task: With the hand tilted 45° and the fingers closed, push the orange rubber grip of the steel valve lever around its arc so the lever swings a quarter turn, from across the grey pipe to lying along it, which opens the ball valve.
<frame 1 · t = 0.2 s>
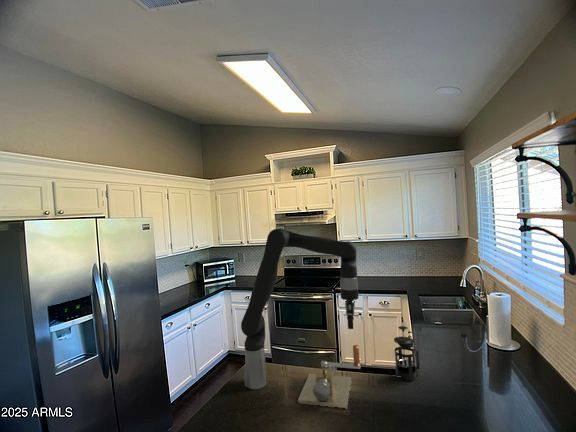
hand: (350, 325, 131), 29 cm above the countertop, tool pointing down, fingers open, 8 cm apart
valve: (325, 393, 132), on the countertop
valve lever: (339, 356, 130), point 16 cm above the countertop, hinge at 0.0°
french press: (407, 376, 142), on the countertop
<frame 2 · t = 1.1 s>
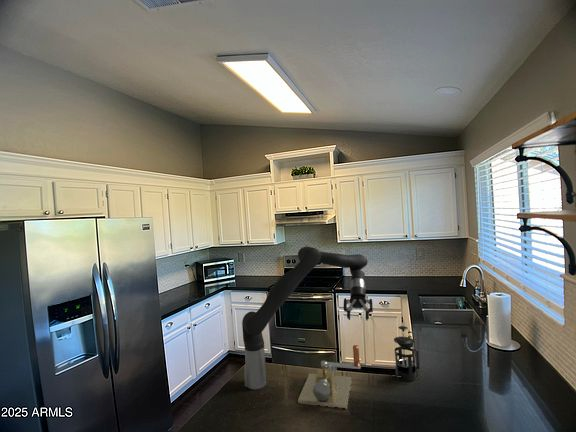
hand: (357, 319, 145), 27 cm above the countertop, tool tilted 45°, fingers open, 7 cm apart
nothing on the countertop moved.
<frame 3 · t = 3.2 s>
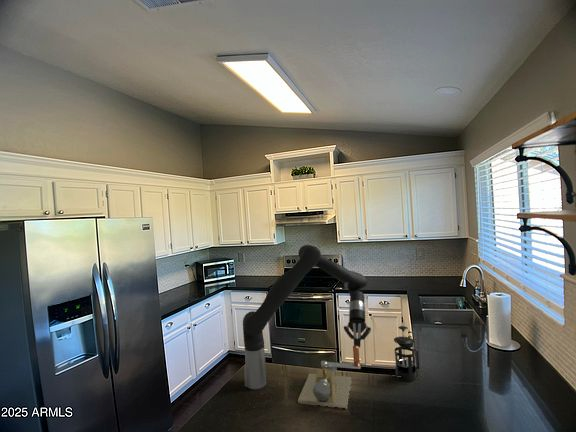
hand: (357, 347, 136), 17 cm above the countertop, tool tilted 45°, fingers closed
nothing on the countertop moved.
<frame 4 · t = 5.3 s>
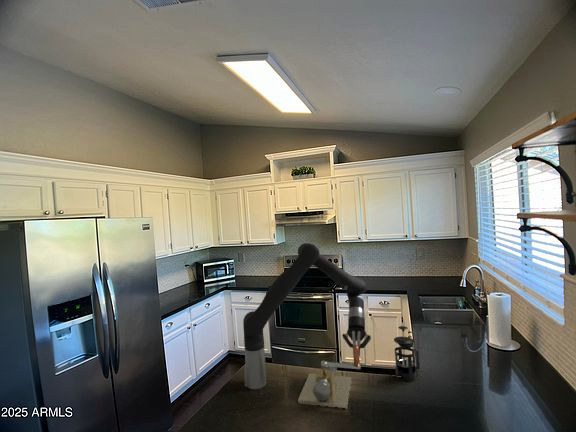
hand: (356, 357, 130), 16 cm above the countertop, tool tilted 45°, fingers closed
valve lever: (339, 356, 130), point 16 cm above the countertop, hinge at -0.5°, touching gripper
everything else where it was.
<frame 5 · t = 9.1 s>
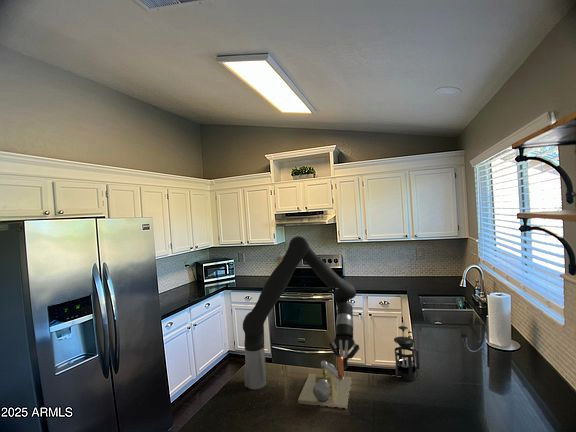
hand: (343, 368, 121), 16 cm above the countertop, tool tilted 45°, fingers closed
valve lever: (331, 361, 126), point 16 cm above the countertop, hinge at -52.1°, touching gripper
everything else where it was.
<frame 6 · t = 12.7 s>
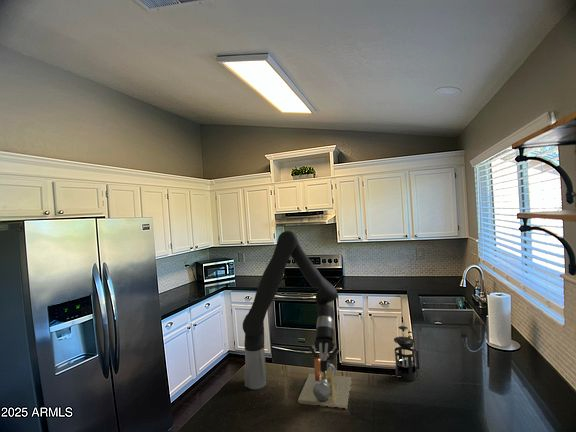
hand: (323, 371, 120), 16 cm above the countertop, tool tilted 45°, fingers closed
valve lever: (320, 362, 126), point 16 cm above the countertop, hinge at -89.8°, touching gripper
everything else where it was.
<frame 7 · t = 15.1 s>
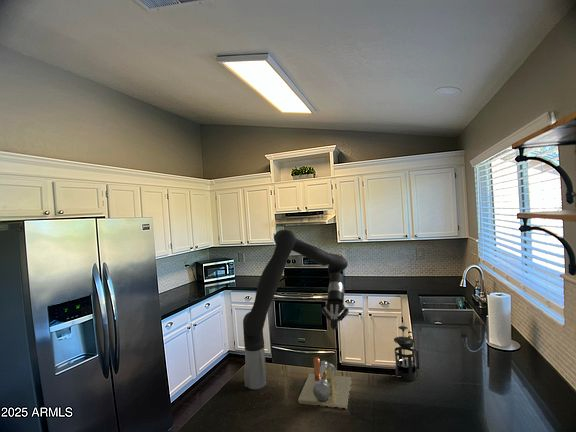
hand: (333, 328, 132), 28 cm above the countertop, tool tilted 45°, fingers closed
valve lever: (320, 362, 126), point 16 cm above the countertop, hinge at -90.6°
everything else where it was.
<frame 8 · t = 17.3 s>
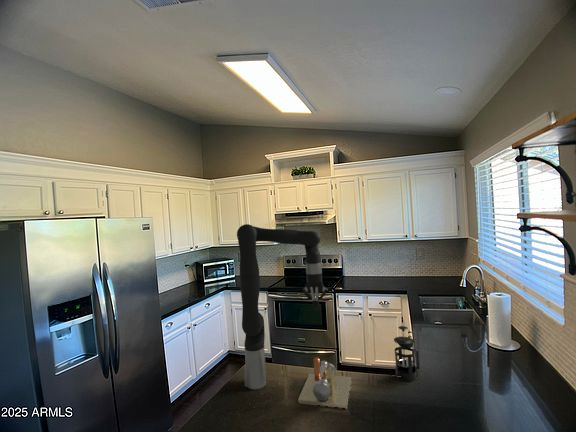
hand: (316, 308, 147), 33 cm above the countertop, tool pointing down, fingers closed
nothing on the countertop moved.
at the end: valve lever at -91° (first picture: +0°) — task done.
